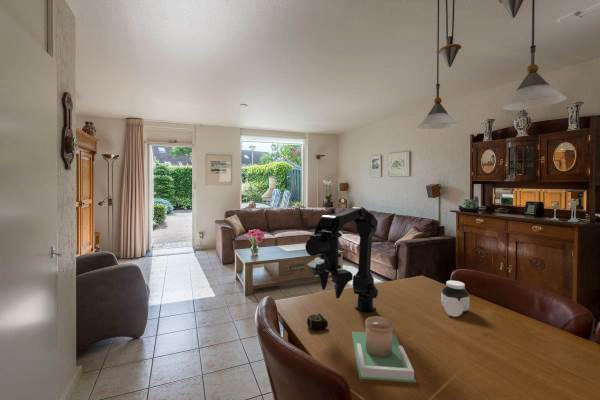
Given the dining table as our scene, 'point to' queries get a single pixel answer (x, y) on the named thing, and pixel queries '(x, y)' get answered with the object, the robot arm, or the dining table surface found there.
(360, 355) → the white rail holder
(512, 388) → the dining table surface
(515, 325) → the dining table surface
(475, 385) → the dining table surface
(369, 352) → the terracotta pot
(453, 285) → the spread jar
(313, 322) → the tape measure
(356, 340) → the green mat
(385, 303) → the dining table surface
